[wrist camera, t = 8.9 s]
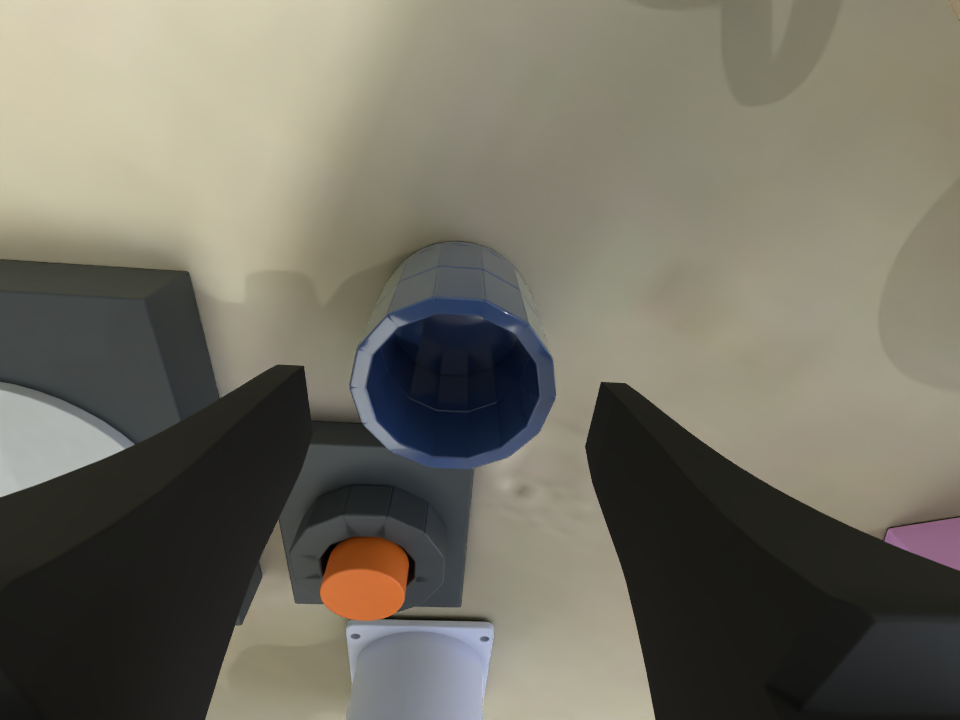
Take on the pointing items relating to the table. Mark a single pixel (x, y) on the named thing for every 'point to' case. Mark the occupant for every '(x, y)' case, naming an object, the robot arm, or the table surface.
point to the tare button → (365, 578)
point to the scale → (95, 367)
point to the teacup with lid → (955, 7)
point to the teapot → (930, 540)
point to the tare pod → (376, 514)
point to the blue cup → (454, 360)
